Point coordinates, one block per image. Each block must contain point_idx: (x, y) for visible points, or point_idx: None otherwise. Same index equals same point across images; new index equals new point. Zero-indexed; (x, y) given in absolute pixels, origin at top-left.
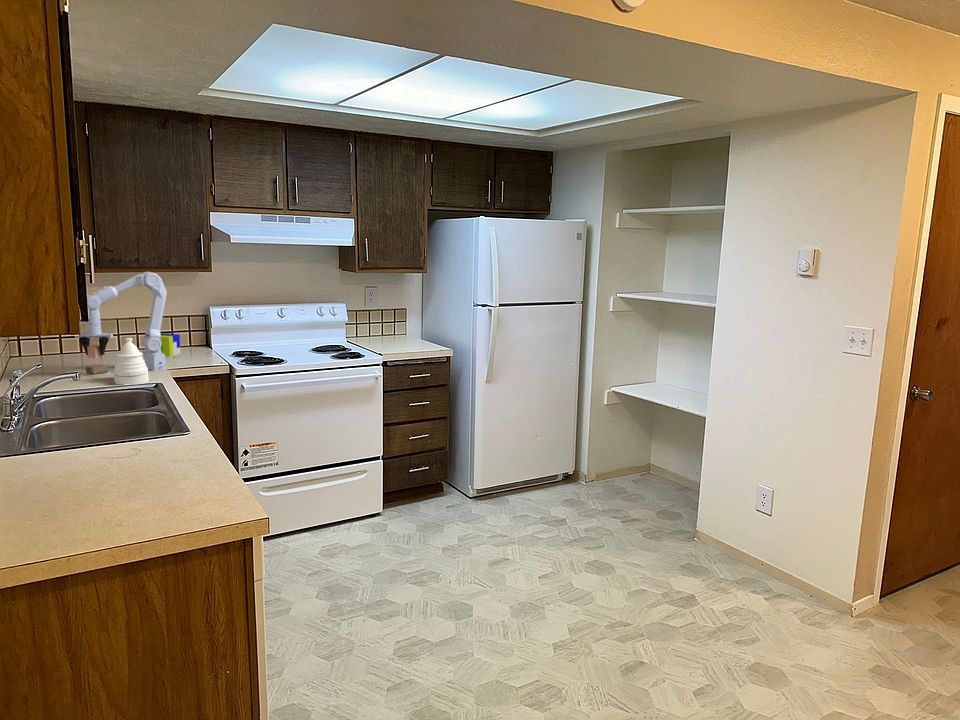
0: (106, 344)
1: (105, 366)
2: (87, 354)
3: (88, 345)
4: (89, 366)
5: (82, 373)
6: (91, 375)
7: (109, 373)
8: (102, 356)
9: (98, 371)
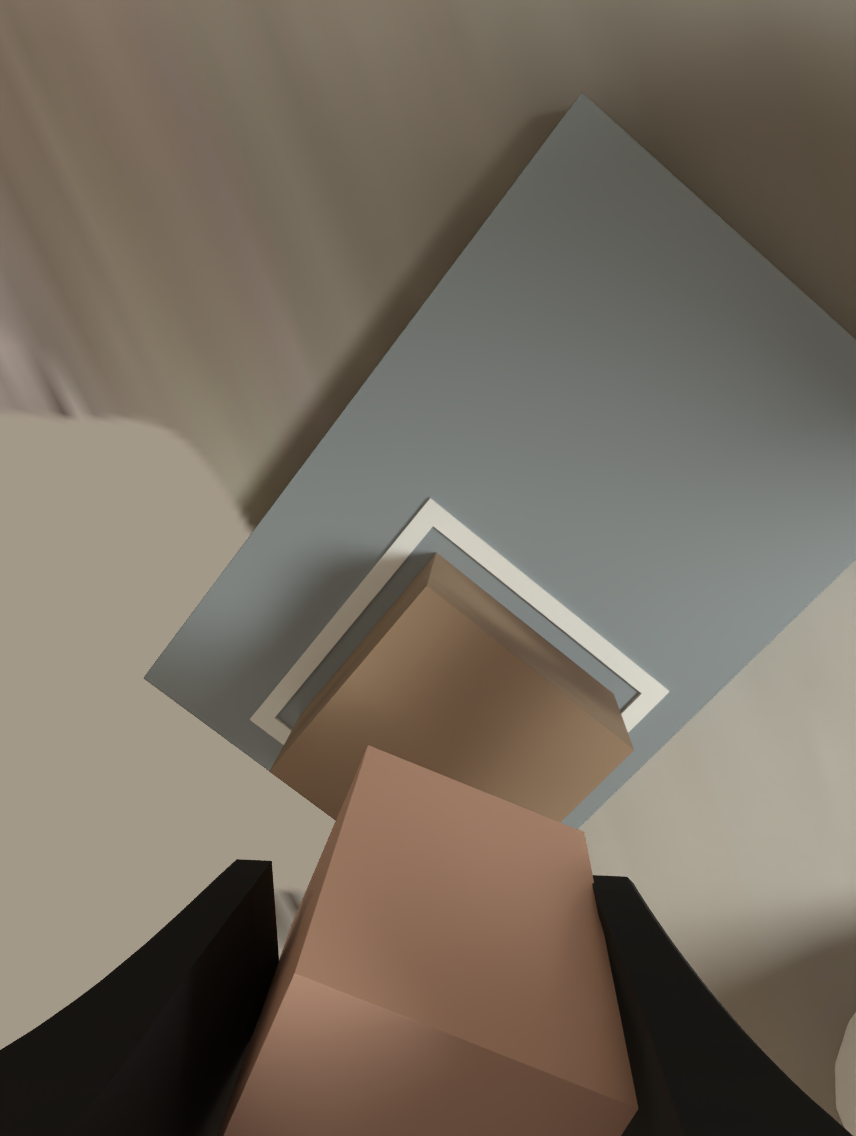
0: (803, 1110)
1: (608, 764)
2: (267, 978)
3: (163, 1094)
4: (327, 754)
5: (254, 723)
6: None
7: (651, 724)
8: (576, 849)
9: None
